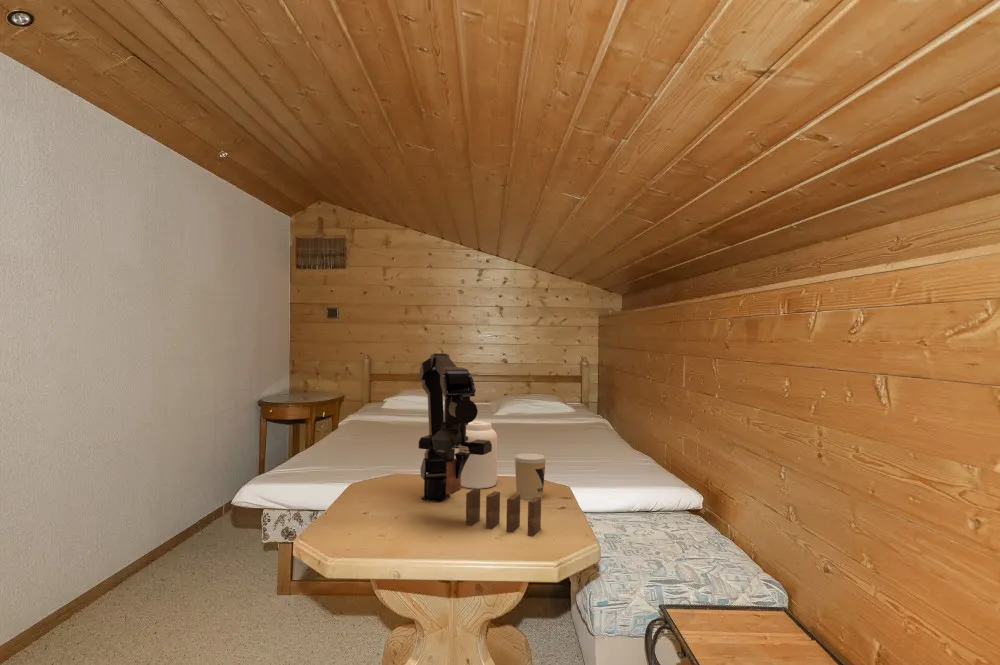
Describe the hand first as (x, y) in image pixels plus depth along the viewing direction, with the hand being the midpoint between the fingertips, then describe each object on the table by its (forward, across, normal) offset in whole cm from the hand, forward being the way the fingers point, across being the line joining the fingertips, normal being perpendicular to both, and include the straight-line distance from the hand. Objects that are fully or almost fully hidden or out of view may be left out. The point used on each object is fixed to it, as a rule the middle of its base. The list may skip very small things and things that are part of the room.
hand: (454, 478), depth 147 cm
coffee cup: (+11, +10, +29) cm, 33 cm away
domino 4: (+11, +17, 0) cm, 20 cm away
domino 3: (+11, +11, 0) cm, 15 cm away
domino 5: (+11, +22, 0) cm, 25 cm away
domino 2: (+11, +6, 0) cm, 12 cm away
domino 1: (+4, 0, 0) cm, 4 cm away
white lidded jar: (+11, -10, +35) cm, 38 cm away
